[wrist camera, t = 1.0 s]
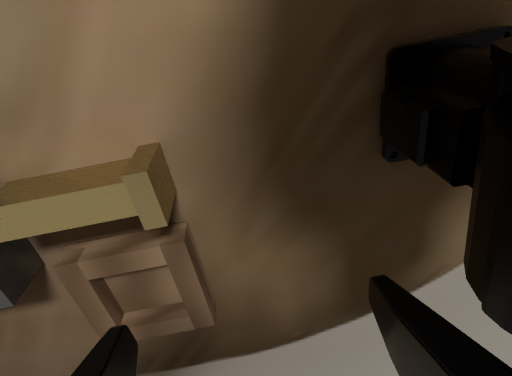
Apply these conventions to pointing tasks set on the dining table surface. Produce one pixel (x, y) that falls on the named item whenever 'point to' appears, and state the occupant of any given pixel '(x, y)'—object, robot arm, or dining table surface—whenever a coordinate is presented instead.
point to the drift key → (90, 196)
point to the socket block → (16, 269)
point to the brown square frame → (140, 282)
